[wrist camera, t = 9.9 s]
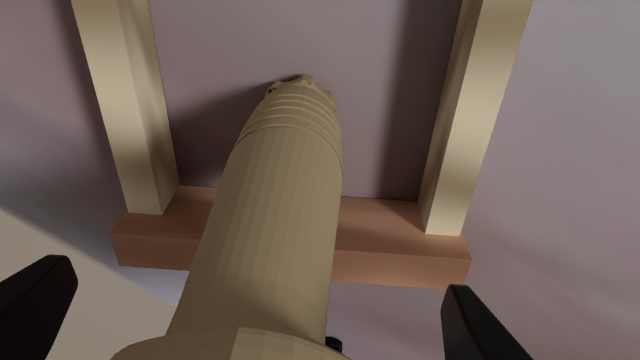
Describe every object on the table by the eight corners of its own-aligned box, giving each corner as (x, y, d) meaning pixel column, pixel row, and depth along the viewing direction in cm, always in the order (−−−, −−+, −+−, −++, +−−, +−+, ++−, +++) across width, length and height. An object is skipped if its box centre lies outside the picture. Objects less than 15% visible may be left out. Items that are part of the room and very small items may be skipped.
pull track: (443, 233, 22) (460, 290, 19) (152, 212, 23) (119, 265, 19) (601, -322, 11) (708, -417, 8) (23, -349, 12) (-108, -451, 8)
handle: (217, 119, 19) (-14, 515, 7) (305, 12, 16) (179, 365, 4) (296, 178, 21) (223, 582, 9) (389, 90, 18) (481, 511, 6)
